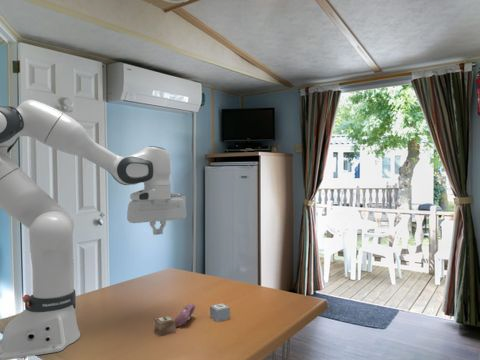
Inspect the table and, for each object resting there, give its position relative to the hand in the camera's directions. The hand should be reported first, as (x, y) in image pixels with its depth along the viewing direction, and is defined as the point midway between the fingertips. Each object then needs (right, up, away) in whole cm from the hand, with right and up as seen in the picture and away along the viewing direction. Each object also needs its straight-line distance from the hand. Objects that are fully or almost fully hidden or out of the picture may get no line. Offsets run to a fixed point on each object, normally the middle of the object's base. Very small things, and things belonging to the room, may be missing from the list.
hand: (157, 234), depth 127 cm
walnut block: (+4, -29, -10) cm, 31 cm away
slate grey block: (+21, -29, +1) cm, 36 cm away
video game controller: (+9, -29, -2) cm, 31 cm away
